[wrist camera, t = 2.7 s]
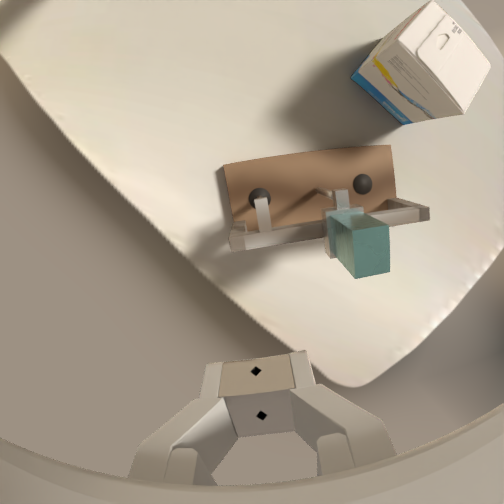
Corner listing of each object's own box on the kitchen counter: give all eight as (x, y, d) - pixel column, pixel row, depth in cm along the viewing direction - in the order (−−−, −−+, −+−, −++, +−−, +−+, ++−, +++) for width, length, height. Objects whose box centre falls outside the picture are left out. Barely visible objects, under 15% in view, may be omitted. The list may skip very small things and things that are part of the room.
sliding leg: (303, 185, 28) (344, 202, 15) (332, 181, 28) (391, 195, 15) (309, 233, 30) (350, 284, 17) (337, 229, 29) (393, 275, 17)
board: (224, 165, 29) (214, 164, 21) (385, 145, 28) (423, 141, 20) (238, 238, 31) (233, 262, 24) (393, 214, 30) (429, 229, 23)
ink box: (403, 127, 28) (466, 117, 16) (348, 77, 26) (394, 39, 15) (433, 83, 26) (494, 64, 14) (384, 35, 24) (432, -4, 13)
